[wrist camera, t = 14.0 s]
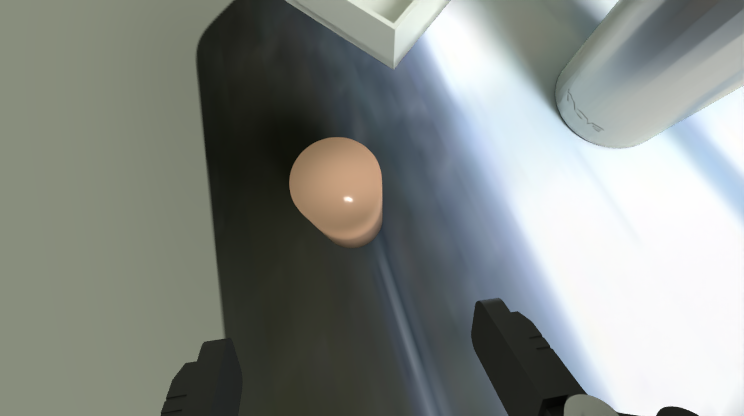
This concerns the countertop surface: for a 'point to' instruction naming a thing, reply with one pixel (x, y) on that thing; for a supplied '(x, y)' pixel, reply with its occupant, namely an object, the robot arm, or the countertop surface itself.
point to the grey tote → (376, 23)
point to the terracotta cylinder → (339, 190)
